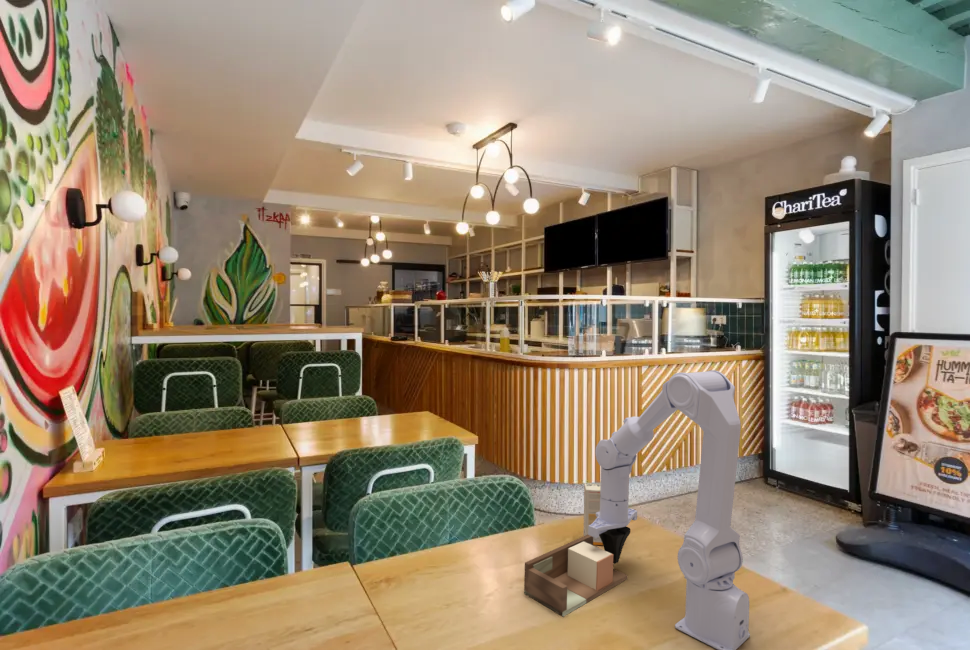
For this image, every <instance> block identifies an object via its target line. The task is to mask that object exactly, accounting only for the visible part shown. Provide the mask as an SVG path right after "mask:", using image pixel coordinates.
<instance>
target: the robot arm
mask: <svg viewBox="0 0 970 650" xmlns="http://www.w3.org/2000/svg"><path fill="white" fill-rule="evenodd" d="M735 389H736V386H735V385H734V384H733V383H732V382H731V381H730V379H728V377H727V376H726V375H725V374H724V373H722V372H721V371H720V370H714V369H711V370H706V371H696V372H677V373H674V374H673V375H672V376H671V377H670V378H669V379H668V380H667V381H666V382H665V383H663V384H662V390H661V391H660V392H659V394H658V395H656V397H655V398H654V399H653V400H652V402H651V403H650V404H649V405H648V407H646V408H645V410H644V411H643V412H642V413H641V415H640V416H634V415H633V416H630V417H629V416H628V417H625V418H624V419H623V424H622V425H621V426H620V427H619V428H618V430H616V431H613V432H612V433H611V436H610V437H609V439H600V440H599V441H598V443H597V444H596V447H595V459H596V461H597V463H598V465H599V466H600V484H601V486H600V511H599V512H597V513H596V517H597V518H596V520H595V521H594V522H593V523H592V524H591V525H589V526H588V535H590V536H592V537H595V538H598V537H599V536H600V538H601V541H602V543H603V545H602V546H603V550H605V551H607V552H609V553H611V554H613V565H616V564H618V563H620V559H621V555H622V551H623V548H624V545H625V542H627V539H628V537H629V536H630V534H631V528H630V527H628V526H629V524H630V522H631V521H637V520H638V510H636V509H634V508H631V507H629V497H630V495H629V494H630V474H631V473H632V469H633V468H632V467H633V465H634V464H635V462H636V460H637V454H638V453H639V452H640V451H641V450H643V449H644V448H645V446H647V445H648V444H649V443H650V442H651V441H652V440H653V439H654V434H655V433H654V430H655V429H656V428H657V427H658V426H660V425H661V424H662V423H663V422H665V421H666V420H667V419H668V418H669V417H670V416H672V415H673V414H674V413H675V412H676V411H680V412H681V413H682V414H683V415H685V416H686V417H687V418H689V419H690V420H691V421H693V422H694V423H695V424H696V425H698V427H700V429H701V430H702V432H703V435H702V446H701V454H700V455H701V456H700V466H699V474H698V475H699V477H698V489H697V497H696V498H697V499H696V506H695V507H696V508H695V519H694V521H693V523H692V524H691V525H690V526H689V528H688V530H687V531H686V532H685V533H684V538H683V543H682V545H681V546H680V547H679V549H678V552H677V563H678V566H679V569H680V571H681V573H682V574H683V576H684V579H685V580H686V582H685V583H686V584H685V585H686V587H685V612H684V613H685V614H684V615H685V616H684V617H683V618H681V619H680V620H679V621H677V622H676V623H675V624H674V628H675V629H677V630H679V631H681V633H684V634H687V635H688V636H691V637H692V638H694V639H696V640H698V641H701V642H702V643H705V645H708V646H710V647H711V648H714V649H716V650H737V649H739V648H740V647H741V645H742V644H744V643H745V642H746V641H747V639H749V638H750V636H751V634H750V632H749V624H750V622H749V621H750V597H749V594H748V593H747V592H745V591H744V590H742V589H741V588H739V587H738V586H736V585H735V583H734V580H735V574H736V573H735V572H738V571H739V570H740V569H741V568H742V566H743V563H744V556H743V552H742V550H741V545H740V539H741V537H740V536H741V535H740V534H739V533H738V532H737V531H736V530H735V529H734V528H733V527H732V526H731V525H732V524H731V523H732V518H733V517H732V515H733V507H734V506H733V505H734V496H735V488H736V487H735V485H736V477H737V468H738V466H737V465H738V458H739V449H740V448H739V447H740V437H741V431H742V430H741V429H742V426H741V424H742V423H741V419H740V416H739V413H738V410H737V406H736V403H735V391H736V390H735Z"/></svg>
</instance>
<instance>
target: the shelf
mask: <svg viewBox="0 0 970 650" xmlns="http://www.w3.org/2000/svg"><path fill="white" fill-rule="evenodd" d="M581 542H586V543H589V544H591V545H593V537H592V536H590V535H586V536H584V535H583V536H581V537H579V538H577V539H574V540H572V541H569V542H567V543H565V544H564V545H561V546H559V547H557V548H554V549H553V550H550V551H548V552H545V553H543V554H541V555H538V556H537V557H534V558H532V559H529V560H527V561H525V562H524V577H523V578H524V581H523V582H524V583H523V587H524V589H523V594H524V595H525V596H527V597H529V598H531V599H533V600H534V601H536V602H538V603H539V604H541V605H543V606H544V607H546V608H548V609H550V610H551V611H553V612H554V613H556V614H558V615H560V616H561V617H565V616H567V615H568V614H570V613H572V612H574V611H575V610H577V609H579V608H580V607H582V606H583V605H586V604H587V603H589V602H590V601H592V600H594V599H595V598H598V597H600V596H601V595H602V594H604V593H606V592H607V591H609V590H611V589H613V588H615V587H616V586H618V585H620V584H621V583H624V582H625V581H627V580H628V574H626V573H624V572H622V571H619V570H618V569H615V568H613V582H611V583H610V584H608V585H606V586H604V587H603V588H601V589H599V590H598V591H597V590H595V589H593V588H591V587H589V586H587V585H585V584H583V583H581V582H579V581H577V580H575V579H573V578H572V577H570V576H568V548H570V547H573V546H575V545H577V544H579V543H581ZM593 546H594V545H593Z"/></svg>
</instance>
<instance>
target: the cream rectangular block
mask: <svg viewBox="0 0 970 650" xmlns="http://www.w3.org/2000/svg"><path fill="white" fill-rule="evenodd" d="M613 569H614V564H613V554H611V553H609V552H607V551H605V550H604V549H602V548H600V547H597V546H596V545H591V544H589V543H586V542H581V543H579V544H577V545H575V546H573V547H570V548H568V576H570V577H572V578H573V579H575V580H577V581H579V582H581V583H583V584H585V585H587V586H589V587H591V588H593V589H595V590H597V591H598V590H599V589H601V588H603V587H604V586H606V585H608V584H610V583H611V582H613Z"/></svg>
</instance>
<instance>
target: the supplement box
mask: <svg viewBox="0 0 970 650" xmlns="http://www.w3.org/2000/svg"><path fill="white" fill-rule="evenodd" d="M583 484H584V486H583V536H586V535H588V526H589V525H591V524H592V523H593V522H594V521H595V520H596V518H597V517H596V513H597V512H599V511H600V486H601V483H593V482H584V483H583ZM593 546H603V543H602V541H601V538H600V536H599V537H598V538H595V537H593Z"/></svg>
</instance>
